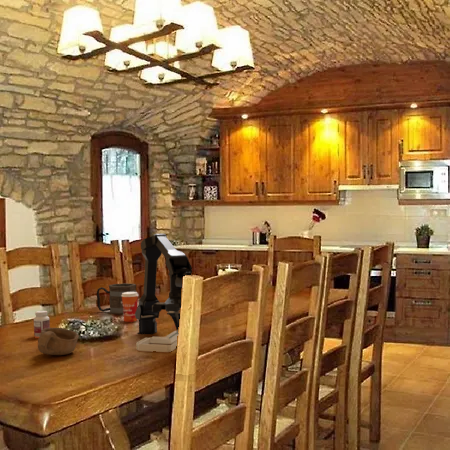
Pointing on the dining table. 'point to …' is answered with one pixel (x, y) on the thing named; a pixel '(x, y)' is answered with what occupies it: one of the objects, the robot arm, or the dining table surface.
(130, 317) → the paper cup
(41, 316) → the pill bottle
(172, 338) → the grey lever handle
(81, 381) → the dining table surface
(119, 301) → the mug
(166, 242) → the robot arm
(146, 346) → the beige square tray
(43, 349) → the bowl
